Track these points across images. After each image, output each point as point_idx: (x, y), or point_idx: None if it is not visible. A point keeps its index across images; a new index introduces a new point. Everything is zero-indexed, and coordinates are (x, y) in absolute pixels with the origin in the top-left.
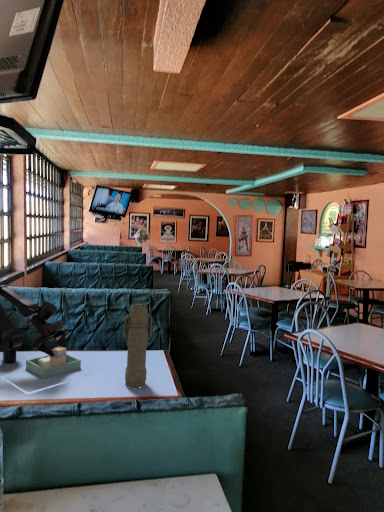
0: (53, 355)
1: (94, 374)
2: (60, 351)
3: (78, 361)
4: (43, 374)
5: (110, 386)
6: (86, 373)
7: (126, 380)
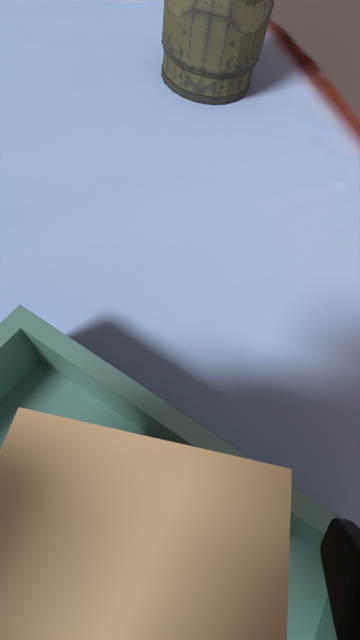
0: (357, 536)
1: (123, 236)
2: (215, 457)
3: (45, 322)
4: None
5: (257, 146)
6: (115, 284)
7: (248, 67)
